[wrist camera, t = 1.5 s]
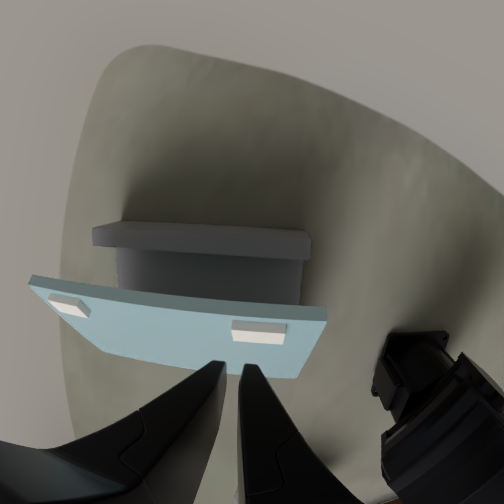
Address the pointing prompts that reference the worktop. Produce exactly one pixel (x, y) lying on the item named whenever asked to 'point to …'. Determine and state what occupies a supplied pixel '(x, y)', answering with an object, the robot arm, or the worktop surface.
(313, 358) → the worktop surface
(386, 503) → the food container
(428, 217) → the worktop surface
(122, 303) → the cover
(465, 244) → the worktop surface
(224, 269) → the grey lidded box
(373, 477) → the worktop surface
